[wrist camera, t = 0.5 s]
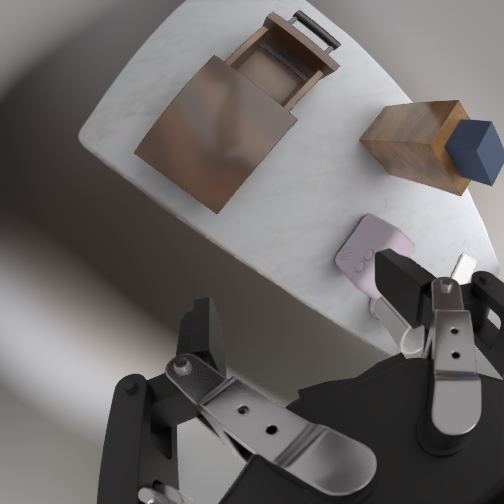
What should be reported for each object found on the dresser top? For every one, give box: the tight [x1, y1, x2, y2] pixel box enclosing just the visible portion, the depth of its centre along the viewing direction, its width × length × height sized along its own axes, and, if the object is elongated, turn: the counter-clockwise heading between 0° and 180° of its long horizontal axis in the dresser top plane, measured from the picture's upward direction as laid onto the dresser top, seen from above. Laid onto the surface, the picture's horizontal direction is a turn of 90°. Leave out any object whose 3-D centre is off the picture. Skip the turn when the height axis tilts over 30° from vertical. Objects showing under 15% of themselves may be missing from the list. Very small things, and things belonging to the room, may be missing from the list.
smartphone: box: [451, 253, 476, 285], centre depth 50 cm, size 7×1×15 cm
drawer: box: [225, 10, 341, 112], centre depth 27 cm, size 17×10×7 cm, turn 140°
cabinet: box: [134, 55, 297, 214], centre depth 30 cm, size 13×11×9 cm
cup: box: [370, 295, 424, 354], centre depth 42 cm, size 10×9×12 cm
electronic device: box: [335, 214, 415, 299], centre depth 38 cm, size 10×5×10 cm, turn 146°
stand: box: [359, 100, 471, 196], centre depth 29 cm, size 8×8×16 cm
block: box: [445, 119, 504, 186], centre depth 20 cm, size 5×5×5 cm
